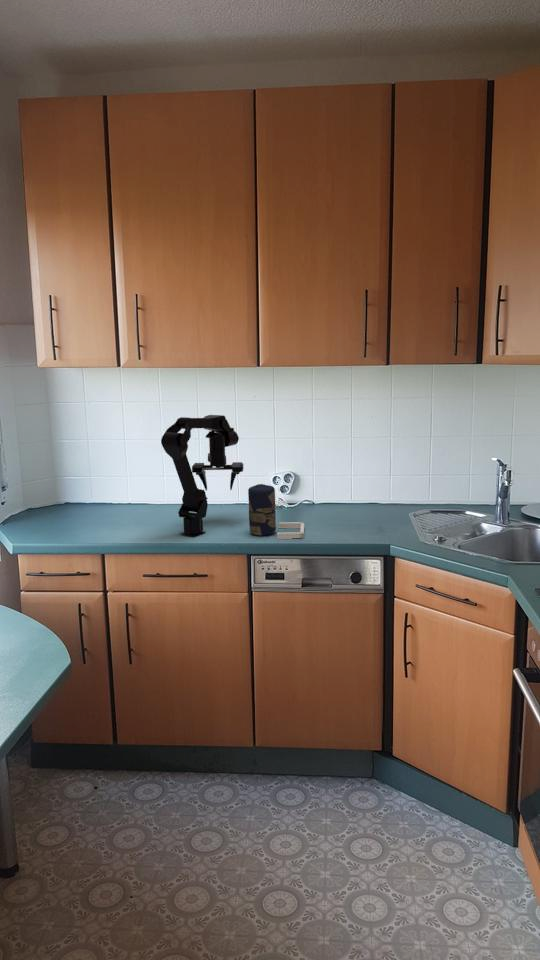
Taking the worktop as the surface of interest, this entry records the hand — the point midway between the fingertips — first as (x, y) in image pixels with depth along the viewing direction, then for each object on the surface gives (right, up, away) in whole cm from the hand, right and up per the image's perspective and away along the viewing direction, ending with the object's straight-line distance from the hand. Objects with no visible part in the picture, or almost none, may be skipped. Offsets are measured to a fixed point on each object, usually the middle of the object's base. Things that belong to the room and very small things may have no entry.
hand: (218, 490), depth 279 cm
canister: (+17, -16, -13) cm, 26 cm away
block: (+27, -15, -13) cm, 33 cm away
